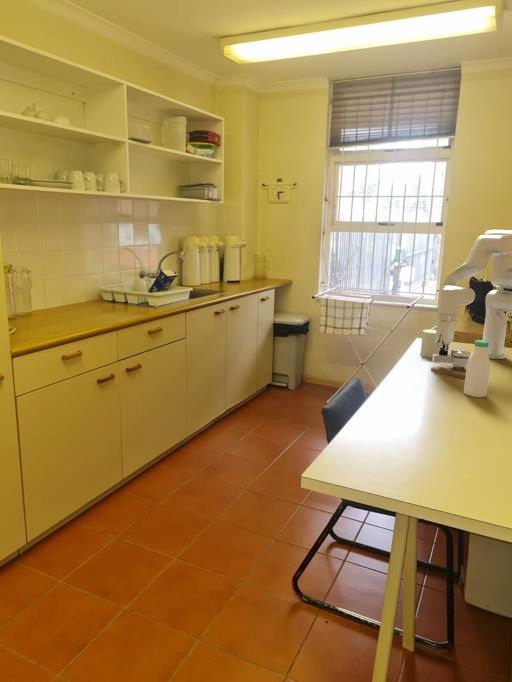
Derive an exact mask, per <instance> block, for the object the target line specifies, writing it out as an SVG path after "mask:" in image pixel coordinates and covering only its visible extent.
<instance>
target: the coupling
mask: <svg viewBox="0 0 512 682" xmlns="http://www.w3.org/2000/svg"><path fill="white" fill-rule="evenodd" d="M450 352H451V353H448V355H439V354H433V357H432V362H433V363H443V364H446V363H450V364H451V365H452V366H455V367H467V363H468V360H469V358H470V356H471V352H470V351H468V350H464V349H452V350H451V351H450ZM454 356H455V357H461V358H455V357H454Z"/></svg>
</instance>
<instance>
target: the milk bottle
mask: <svg viewBox="0 0 512 682" xmlns="http://www.w3.org/2000/svg"><path fill="white" fill-rule="evenodd" d="M488 345H489V342H487V341H483V339H476V340H474V345H473V346H474V347H473V348H474V349H473V351H472V353H471V354H470V358H469V360H468V363H467V369H466V377H465V379H464V385H463V386H464V387H463V393H464V395H467V396H468V397H472V398H473V397H474V398H484V397H486V396H487V393H488V387H489V380H490V379H489V378H490V371H491V362H490V360H491V359H490V358H489V357H488V354H487V348H488Z"/></svg>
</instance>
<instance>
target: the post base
mask: <svg viewBox="0 0 512 682" xmlns="http://www.w3.org/2000/svg"><path fill="white" fill-rule="evenodd" d="M454 357H455V356H454ZM455 358H461V357H455ZM466 369H467V367H455V366H452V365H451V364H450V363H442V364H439V365H436V366H435V365H434V366H433V367H431V368H430V371H431V372H436V373H439V374H443V375H447V376H451V377H454V378H458V379H462V380H465V377H466Z"/></svg>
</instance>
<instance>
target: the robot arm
mask: <svg viewBox="0 0 512 682" xmlns="http://www.w3.org/2000/svg"><path fill="white" fill-rule="evenodd" d="M490 258H492V260H491V261H492V263H491V274H490V283H491V285H492V286H493V287H495V288H499V289H492V290H490V291H488V293H487V294H486V295H485V319H484V326H483V334H482V340H483V341H487V342H489V345H488V348H487V354H488V357H489V359H492V360H493V359H494V360H501V359H502V360H504V359H506V358H507V354H505V353H504V350H506V346H505V339H506V333H507V328H508V327H507V326H508V318H507V315H506V313H511V314H512V291H510V290H512V230H508V229H507V230H506V229H489V230H486V231H485V232H484V233H483V234H481V235H480V236H477V238H476V239H475V241H474V243H473V246H472V247H471V249H470V251H469V253H468V255H467V257H466V259H465V261H464V262H463V263H462V264H460V265H459V266H458V267H455V269H453V270H452V271H451V272H449V274H448V275H447V276H446V277H445V279H444V281H443V282H442V285H441V287H440V290H439V302H438V303H439V304H438V312H437V313H438V316H437V326H436V329H435V330H436V337H435V343H436V344H437V343H439V355H449V350H450V349H449V348H450V344H451V343H453V341H454V336H455V328H456V327H455V325H456V322H458V312H459V306H460V305H461V306H462V305H463V306H467V305H470V304H471V303H474V300H475V299H476V292H475V291H474V289H472V288H471V287H469V286H461V285H457V284H458V283H459V282H460V281H462V280H464V279H467V278H470V277H472V276H477V275H479V274H482V273H483V272H484V270H485V269H486V267H487V264H488V262H489V261H490ZM500 288H501V289H502V290H501V289H500ZM504 289H508V290H504ZM509 289H510V290H509ZM505 312H506V313H505Z"/></svg>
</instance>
